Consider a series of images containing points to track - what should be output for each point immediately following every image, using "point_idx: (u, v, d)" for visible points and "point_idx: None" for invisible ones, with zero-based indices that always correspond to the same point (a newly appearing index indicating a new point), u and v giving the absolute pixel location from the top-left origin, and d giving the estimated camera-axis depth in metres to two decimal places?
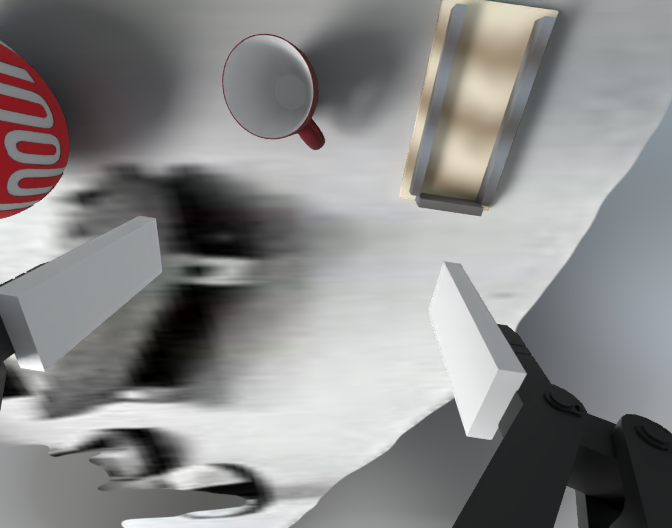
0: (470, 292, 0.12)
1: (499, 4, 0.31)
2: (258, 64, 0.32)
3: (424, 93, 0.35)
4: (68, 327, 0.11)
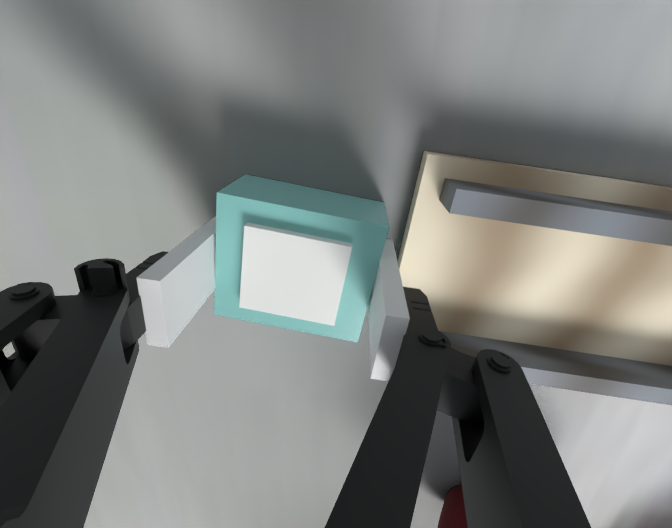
0: (390, 261, 0.14)
1: (402, 269, 0.17)
2: None
3: None
4: (182, 310, 0.12)
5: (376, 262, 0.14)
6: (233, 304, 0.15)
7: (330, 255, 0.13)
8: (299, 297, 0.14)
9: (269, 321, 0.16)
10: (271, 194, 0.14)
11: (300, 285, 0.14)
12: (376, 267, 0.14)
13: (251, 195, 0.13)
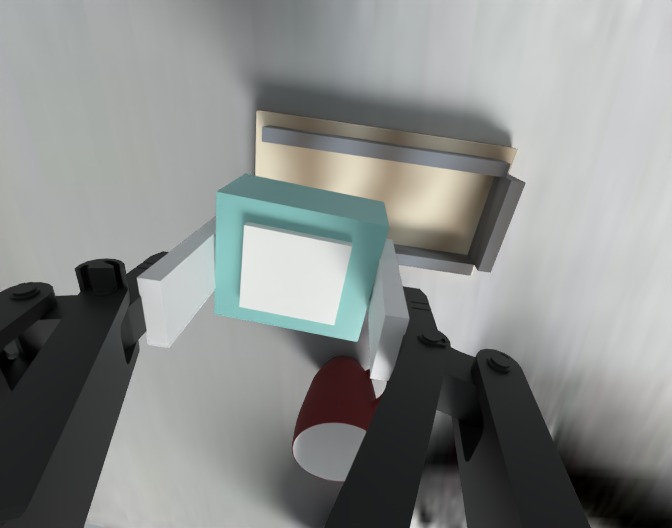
0: (390, 261, 0.14)
1: None
2: None
3: None
4: (182, 310, 0.12)
5: (376, 261, 0.14)
6: (233, 304, 0.15)
7: (330, 254, 0.13)
8: (299, 296, 0.14)
9: (269, 320, 0.16)
10: (271, 193, 0.14)
11: (300, 285, 0.14)
12: (376, 266, 0.14)
13: (251, 195, 0.13)
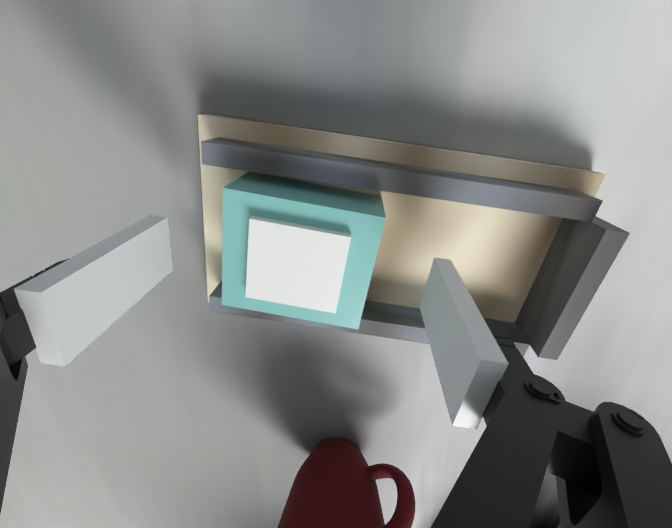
0: (458, 287, 0.12)
1: (206, 224, 0.19)
2: None
3: None
4: (86, 323, 0.11)
5: (374, 251, 0.15)
6: (239, 294, 0.16)
7: (330, 245, 0.14)
8: (302, 286, 0.15)
9: (273, 310, 0.16)
10: (274, 189, 0.15)
11: (302, 275, 0.15)
12: (374, 256, 0.15)
13: (255, 190, 0.14)
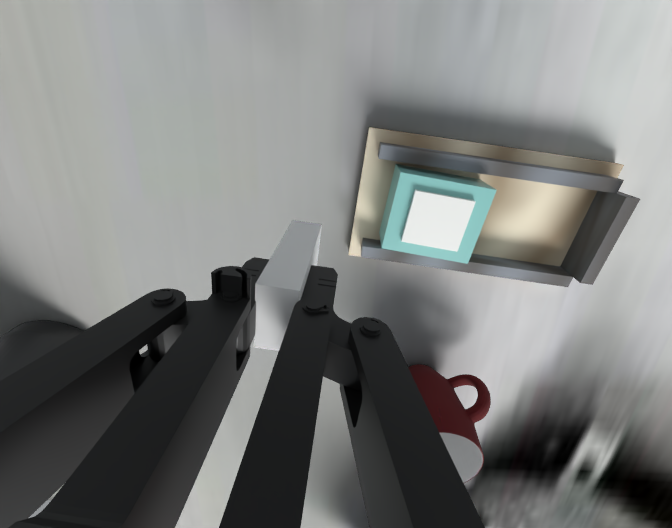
0: (308, 242, 0.14)
1: (359, 199, 0.28)
2: None
3: None
4: None
5: (486, 211, 0.24)
6: (395, 241, 0.26)
7: (462, 207, 0.24)
8: (439, 233, 0.25)
9: (415, 251, 0.26)
10: (424, 173, 0.24)
11: (441, 226, 0.24)
12: (486, 214, 0.24)
13: (417, 174, 0.24)
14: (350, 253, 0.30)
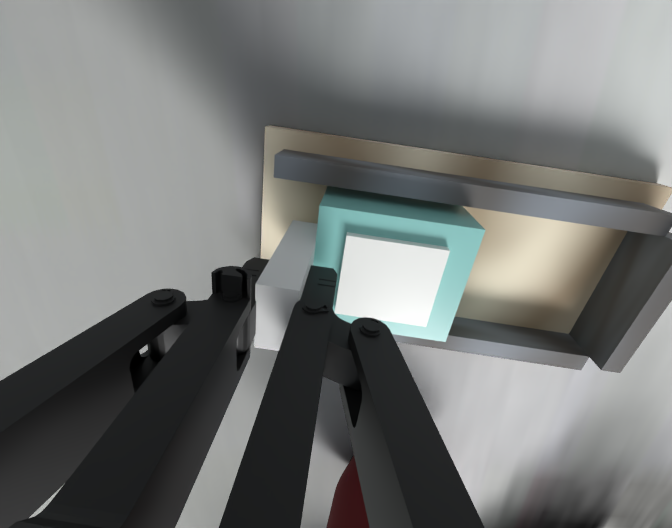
0: (308, 242, 0.14)
1: (264, 235, 0.18)
2: None
3: None
4: None
5: (470, 264, 0.14)
6: None
7: (428, 259, 0.14)
8: (394, 301, 0.15)
9: None
10: (364, 204, 0.15)
11: (395, 290, 0.15)
12: (469, 269, 0.14)
13: (349, 206, 0.14)
14: None
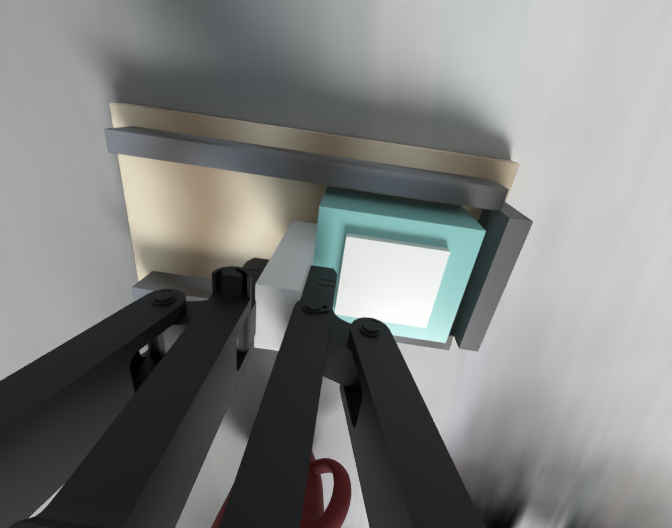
0: (308, 242, 0.14)
1: (130, 215, 0.18)
2: None
3: None
4: None
5: (470, 265, 0.14)
6: None
7: (428, 260, 0.14)
8: (394, 302, 0.15)
9: None
10: (364, 205, 0.15)
11: (395, 291, 0.15)
12: (470, 270, 0.14)
13: (350, 207, 0.14)
14: None
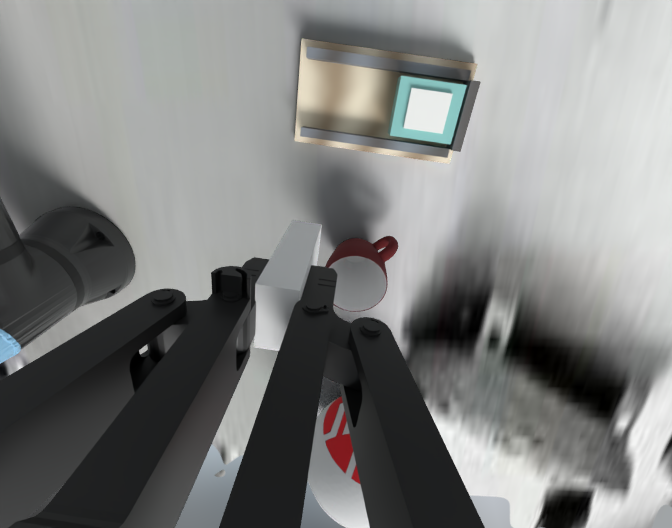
0: (308, 242, 0.14)
1: (298, 94, 0.40)
2: (338, 277, 0.46)
3: (360, 149, 0.42)
4: None
5: (461, 101, 0.35)
6: (399, 129, 0.37)
7: (444, 98, 0.35)
8: (429, 120, 0.36)
9: (413, 136, 0.37)
10: None
11: (430, 114, 0.36)
12: (460, 104, 0.36)
13: (412, 77, 0.35)
14: (295, 139, 0.42)
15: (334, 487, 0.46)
